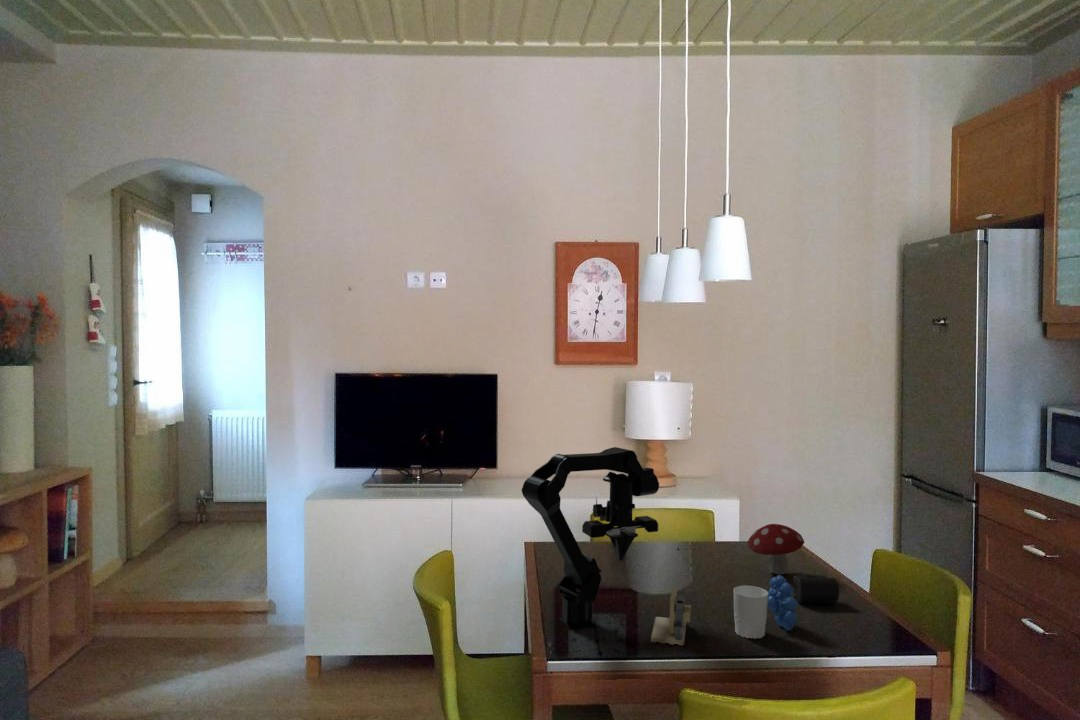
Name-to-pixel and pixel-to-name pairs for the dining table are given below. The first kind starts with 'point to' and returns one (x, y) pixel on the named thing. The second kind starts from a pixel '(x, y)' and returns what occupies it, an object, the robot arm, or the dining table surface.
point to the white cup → (750, 611)
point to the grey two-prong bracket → (679, 618)
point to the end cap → (815, 589)
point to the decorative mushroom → (775, 545)
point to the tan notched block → (673, 610)
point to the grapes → (782, 602)
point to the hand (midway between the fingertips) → (619, 560)
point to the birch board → (665, 632)
